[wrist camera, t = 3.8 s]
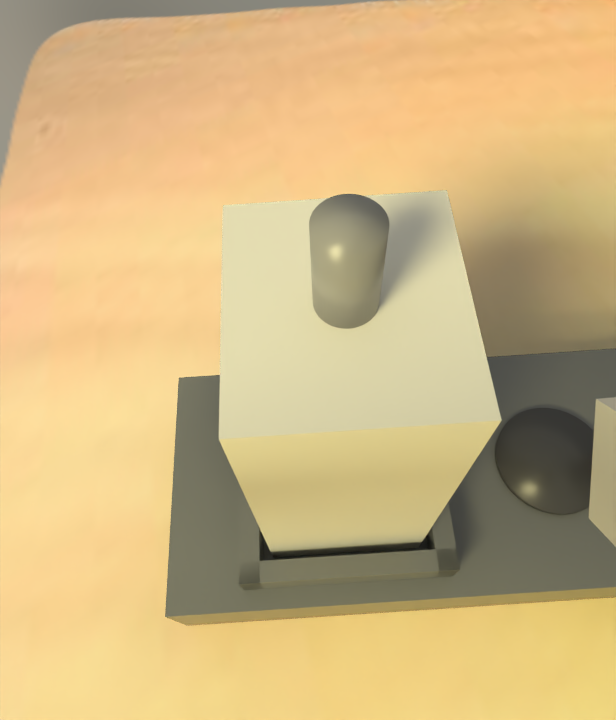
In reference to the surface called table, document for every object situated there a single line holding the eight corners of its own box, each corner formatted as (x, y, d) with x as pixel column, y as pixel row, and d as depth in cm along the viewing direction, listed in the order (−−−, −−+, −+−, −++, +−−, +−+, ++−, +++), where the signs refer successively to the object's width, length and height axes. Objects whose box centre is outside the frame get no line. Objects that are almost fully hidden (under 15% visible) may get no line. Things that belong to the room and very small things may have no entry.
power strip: (757, 373, 24) (835, 317, 20) (858, 580, 20) (978, 558, 16) (195, 411, 24) (170, 362, 20) (187, 625, 20) (154, 612, 16)
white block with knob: (396, 401, 20) (467, 103, 10) (418, 547, 18) (541, 359, 7) (268, 409, 20) (204, 121, 10) (273, 557, 18) (192, 382, 7)
